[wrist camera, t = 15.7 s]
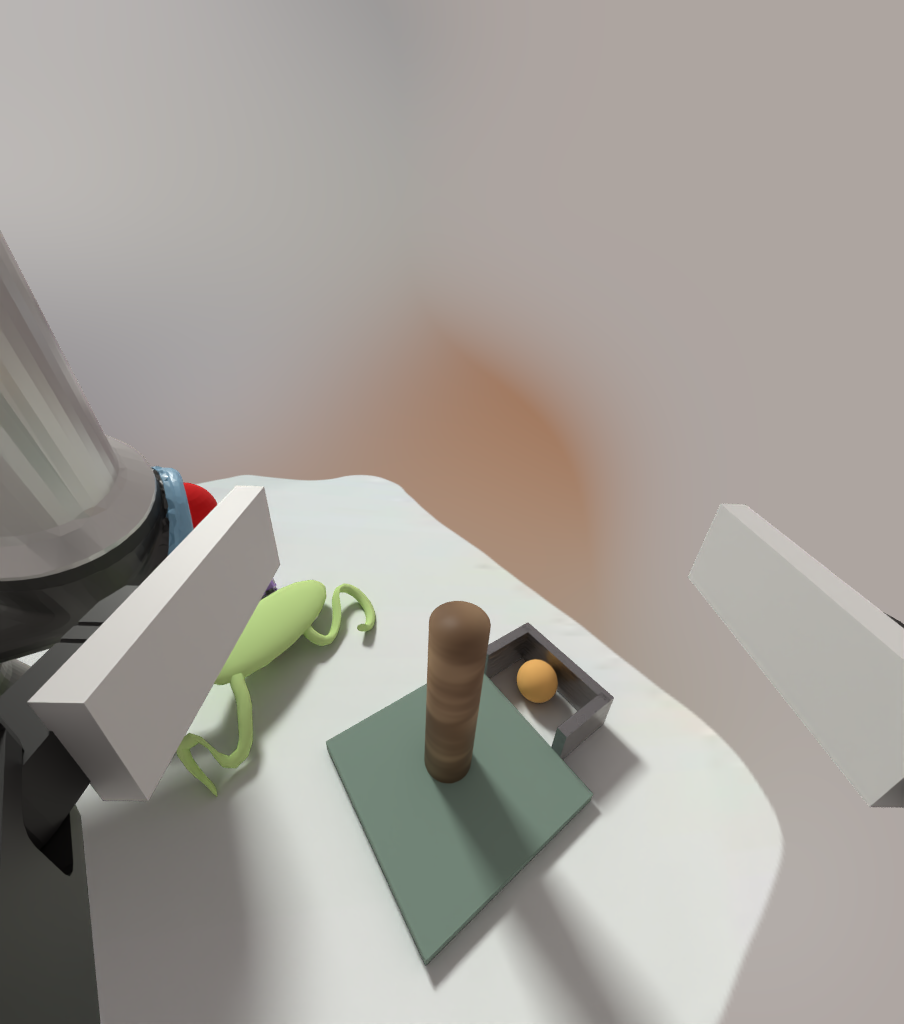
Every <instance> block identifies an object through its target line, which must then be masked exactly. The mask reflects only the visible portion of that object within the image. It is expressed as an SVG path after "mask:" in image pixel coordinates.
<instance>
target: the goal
mask: <svg viewBox="0 0 904 1024" xmlns="http://www.w3.org/2000/svg"><path fill="white" fill-rule="evenodd" d="M521 658H524V659H525V660H526V661H530V660H534V659H537V660H542V661H545V662H546V663H548V664H549V665H550V666H551V667H552V668H553V669H554V671H555V673H556V675H557V679H558V687H557V691H558V692H559V693H560V694H561V695H562V696H563V697H564V698H565V699H566V700H567V701H568V702H569V703H570V704H571V705H572V706H573V707H574V708H575V709H576V710H577V712H576V713H575V714H574V715H572V716H571V717H570V718H569V719H567V720H566V721H565V722H564V723H563V724H561V725H560V726H559V727H558V728H557V731H556V734H555V737H554V741H553V744H552V747H551V748H552V749H553V750H554V751H555V752H556V753H557V754H558V756H559V757H560V758H561V759H562V760H563V759H564V758H565V757H566V756H567V755H568V754H569V753H571V752H572V751H573V750H574V749H575V748H576V747H577V746H579V745H580V744H581V743H582V742H583V741H584V740H585V739H587V738H588V737H589V736H590V735H591V734H592V733H594V732H595V731H596V730H597V729H598V728H599V727H600V726H602V725H603V724H604V721H605V719H606V716H607V714H608V711H609V709H610V706H611V704H612V701H613V699H614V697H613V696H612V695H610V694H609V693H608V692H607V691H606V690H605V689H604V688H602V687H601V686H600V685H599V684H598V683H597V682H596V681H594V680H593V679H592V678H591V677H590V676H589V675H588V674H586V673H585V672H584V671H583V670H582V669H581V668H580V667H578V666H577V665H576V664H575V663H574V662H573V661H572V660H570V659H569V658H568V657H567V656H566V655H565V654H564V653H562V652H561V651H560V650H559V649H558V648H557V647H556V646H554V645H553V644H552V643H551V642H550V641H549V640H548V639H546V638H545V637H544V636H543V635H542V634H541V633H540V632H538V631H537V630H536V629H535V628H534V627H533V626H532V625H530V624H529V623H526V624H524V625H522V626H521V627H519V628H517V629H515V630H514V631H512V632H510V633H508V634H507V635H505V636H503V637H501V638H500V639H498V640H496V641H494V642H493V643H491V644H489V645H488V648H487V655H486V662H485V669H484V674H485V675H486V676H487V677H488V678H491V677H492V676H494V675H496V674H497V673H499V672H500V671H502V670H504V669H505V668H507V667H508V666H510V665H512V664H513V663H515V662H516V661H518V660H520V659H521Z"/></svg>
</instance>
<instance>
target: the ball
mask: <svg viewBox="0 0 904 1024" xmlns="http://www.w3.org/2000/svg"><path fill="white" fill-rule="evenodd" d="M517 685H518V688H519V690H520V692H521V694H522V695H523V696H524V697H525V698H526V699H528V700H529V701H532V702H535V703H543V702H546V701H548V700H550V699H551V698H552V697H553V696H554V694H555V693H556V690H557V687H558V679H557V675H556V673H555V671H554V669H553V668H552V667H551V666H550V665H549V664H548V663H546V662H545V661H542V660H537V659H534V660H530V661H527V662H525V663H524V664H523V665H522V666H521V667H520V669H519V671H518V674H517Z"/></svg>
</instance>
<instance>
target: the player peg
mask: <svg viewBox="0 0 904 1024" xmlns="http://www.w3.org/2000/svg"><path fill="white" fill-rule="evenodd" d="M490 626H491V624H490V620H489V617H488V616H487V614H486V613H485V612H484V611H483V610H482V609H481V608H480V607H478V606H476V605H474V604H472V603H468V602H464V601H452V602H447V603H444V604H442V605H440V606H439V607H437V608H436V609H435V610H434V611H433V612H432V614H431V616H430V619H429V640H428V669H427V697H426V725H425V753H424V762H425V766H426V769H427V771H428V773H429V774H430V775H431V776H432V777H433V778H434V779H435V780H437V781H439V782H442V783H455V782H457V781H460V780H461V779H462V778H464V777H465V776H466V774H467V773H468V771H469V769H470V766H471V760H472V753H473V746H474V739H475V732H476V725H477V718H478V711H479V704H480V697H481V690H482V683H483V676H484V669H485V662H486V655H487V648H488V641H489V634H490Z"/></svg>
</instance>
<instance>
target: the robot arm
mask: <svg viewBox="0 0 904 1024" xmlns="http://www.w3.org/2000/svg"><path fill="white" fill-rule="evenodd" d="M279 566H280V562H279V557H278V552H277V547H276V542H275V538H274V533H273V528H272V523H271V518H270V513H269V508H268V504H267V499H266V494H265V489H264V487H263V486H235V487H234V488H233V489H232V490H231V491H230V492H229V493H228V494H227V495H226V496H225V498H224V499H223V500H222V501H221V502H220V503H219V504H218V505H217V506H216V507H215V508H214V509H213V510H212V511H211V512H210V513H209V514H208V515H207V516H206V517H205V518H204V519H203V520H202V521H201V522H200V523H199V524H198V525H197V527H196V528H195V529H193V524H192V519H191V514H190V509H189V504H188V500H187V496H186V491H185V488H184V484H183V480H182V477H181V475H180V473H179V472H178V471H177V470H175V469H173V468H161V467H158V466H156V467H150V465H149V463H148V462H147V461H146V459H145V458H144V456H143V455H142V454H140V453H139V452H138V451H137V450H135V449H134V448H133V447H131V446H130V445H128V444H126V443H124V442H122V441H120V440H118V439H115V438H112V437H109V436H106V435H105V434H104V432H103V430H102V428H101V426H100V424H99V422H98V420H97V418H96V416H95V414H94V412H93V410H92V408H91V406H90V404H89V403H88V400H87V399H86V397H85V395H84V393H83V391H82V389H81V387H80V385H79V383H78V381H77V379H76V377H75V375H74V373H73V371H72V369H71V367H70V365H69V363H68V361H67V360H66V358H65V356H64V354H63V352H62V350H61V348H60V346H59V344H58V342H57V340H56V338H55V336H54V335H53V332H52V331H51V329H50V326H49V324H48V323H47V321H46V319H45V317H44V315H43V313H42V311H41V309H40V307H39V305H38V303H37V301H36V299H35V298H34V295H33V293H32V291H31V289H30V288H29V286H28V284H27V282H26V280H25V278H24V276H23V274H22V272H21V270H20V268H19V266H18V264H17V262H16V260H15V258H14V256H13V254H12V252H11V251H10V249H9V247H8V245H7V243H6V241H5V239H4V237H3V235H2V233H1V231H0V1024H100V1015H99V1004H98V994H97V983H96V972H95V962H94V951H93V941H92V930H91V920H90V909H89V899H88V888H87V877H86V867H85V856H84V846H83V835H82V825H81V816H80V813H79V811H78V809H77V807H76V805H75V804H76V802H77V801H78V799H79V798H80V796H81V795H82V794H83V792H84V791H85V789H86V788H87V786H88V785H89V783H90V784H91V786H92V787H93V788H94V790H95V791H96V792H97V793H98V795H99V796H100V797H101V799H102V800H103V801H149V799H150V797H151V795H152V794H153V792H154V790H155V788H156V786H157V785H158V783H159V781H160V779H161V777H162V776H163V774H164V772H165V770H166V768H167V767H168V765H169V763H170V761H171V760H172V758H173V756H174V754H175V752H176V751H177V749H178V747H179V745H180V743H181V742H182V740H183V738H184V736H185V734H186V733H187V731H188V729H189V727H190V725H191V724H192V722H193V720H194V718H195V716H196V715H197V713H198V711H199V709H200V707H201V706H202V704H203V702H204V700H205V699H206V697H207V695H208V693H209V691H210V690H211V688H212V686H213V684H214V682H215V681H216V679H217V677H218V675H219V673H220V672H221V670H222V668H223V666H224V664H225V663H226V661H227V659H228V657H229V655H230V654H231V652H232V650H233V648H234V647H235V645H236V643H237V641H238V639H239V638H240V636H241V634H242V632H243V630H244V629H245V627H246V625H247V623H248V621H249V620H250V618H251V616H252V614H253V612H254V611H255V609H256V607H257V605H258V603H259V602H260V600H261V598H262V596H263V594H264V593H265V591H266V589H267V587H268V586H269V584H270V582H271V580H272V578H273V577H274V575H275V573H276V571H277V569H278V568H279ZM688 578H689V579H690V580H691V582H692V583H693V584H694V585H695V587H696V588H697V589H698V590H699V592H700V593H701V594H702V596H703V597H704V598H705V599H706V601H707V602H708V603H709V604H710V606H711V607H712V608H713V609H714V611H715V612H716V613H717V615H718V616H719V617H720V618H721V620H722V621H723V622H724V623H725V625H726V626H727V627H728V629H729V630H730V631H731V632H732V633H733V635H734V636H735V637H736V639H737V640H738V641H739V642H740V644H741V645H742V646H743V648H744V649H745V650H746V651H747V653H748V654H749V655H750V656H751V658H752V659H753V660H754V661H755V663H756V664H757V665H758V667H759V668H760V669H761V670H762V672H763V673H764V674H765V676H766V677H767V678H768V679H769V681H770V682H771V683H772V684H773V685H774V687H775V688H776V689H777V691H778V692H779V693H780V695H781V696H782V697H783V698H784V699H785V701H786V702H787V703H788V705H789V706H790V707H791V708H792V710H793V711H794V712H795V713H796V715H797V716H798V717H799V719H800V720H801V721H802V722H803V724H804V725H805V726H806V727H807V729H808V730H809V731H810V733H811V734H812V735H813V736H814V738H815V739H816V740H817V741H818V742H819V744H820V745H821V746H822V748H823V749H824V750H825V752H826V753H827V754H828V755H829V756H830V758H831V759H832V760H833V762H834V763H835V764H836V765H837V767H838V768H839V769H840V770H841V772H842V773H843V774H844V776H845V777H846V778H847V779H848V781H849V782H850V783H851V785H853V787H854V788H855V790H856V791H857V792H858V793H859V795H860V796H861V797H862V799H863V800H864V801H865V802H866V804H867V805H868V806H869V807H904V624H903V623H901V622H900V621H898V620H896V619H894V618H893V617H891V616H889V615H887V614H886V613H884V612H882V611H881V610H880V609H878V608H877V607H876V606H874V605H873V604H872V603H871V602H869V601H868V600H867V599H865V598H864V597H863V596H862V595H861V594H859V593H858V592H857V591H855V590H854V589H853V588H852V587H850V586H849V585H848V584H846V583H845V582H844V581H842V580H841V579H840V578H839V577H838V576H836V575H835V574H834V573H832V572H831V571H830V570H829V569H827V568H826V567H825V566H823V565H822V564H821V563H820V562H818V561H817V560H816V559H815V558H813V557H812V556H811V555H809V554H808V553H807V552H805V551H804V550H803V549H802V548H800V547H799V546H798V545H797V544H795V543H794V542H793V541H791V540H790V539H789V538H788V537H786V536H785V535H784V534H783V533H781V532H780V531H779V530H778V529H776V528H775V527H774V526H772V525H771V524H770V523H769V522H767V521H766V520H765V519H763V518H762V517H761V516H760V515H758V514H757V513H756V512H755V511H753V510H752V509H751V508H749V507H748V506H747V505H738V504H720V506H719V508H718V511H717V513H716V515H715V518H714V520H713V522H712V524H711V526H710V529H709V531H708V533H707V535H706V538H705V540H704V542H703V544H702V547H701V549H700V551H699V553H698V556H697V558H696V560H695V562H694V565H693V567H692V569H691V572H690V574H689V576H688ZM47 649H49V650H48V651H47V652H46V653H45V654H44V655H43V656H42V657H41V658H40V659H39V660H38V661H37V662H36V663H35V664H34V665H33V666H32V667H31V666H29V665H27V664H25V663H23V662H21V661H19V660H16V659H17V658H20V657H24V656H27V655H30V654H33V653H37V652H40V651H43V650H47Z"/></svg>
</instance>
